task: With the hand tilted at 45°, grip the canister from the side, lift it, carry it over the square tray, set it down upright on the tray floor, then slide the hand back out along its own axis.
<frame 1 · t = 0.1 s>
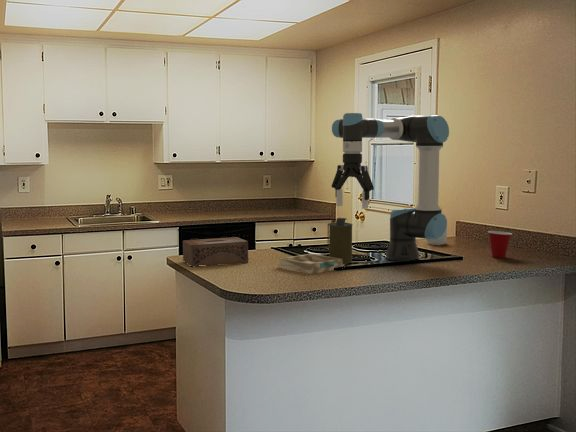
hand: (352, 207, 275), 28 cm above the countertop, tool pointing down, fingers open, 13 cm apart
plastic cup: (499, 257, 325), on the countertop
square tray: (310, 267, 298), on the countertop
canister: (339, 263, 310), on the countertop
tissue box cover: (215, 263, 312), on the countertop
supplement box: (436, 244, 366), on the countertop
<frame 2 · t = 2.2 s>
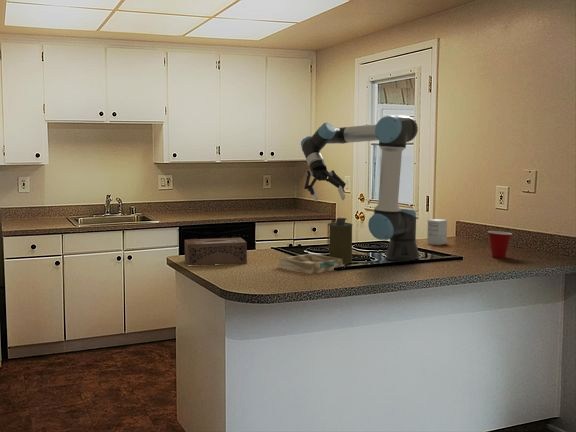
hand: (330, 199, 316), 28 cm above the countertop, tool tilted 45°, fingers open, 13 cm apart
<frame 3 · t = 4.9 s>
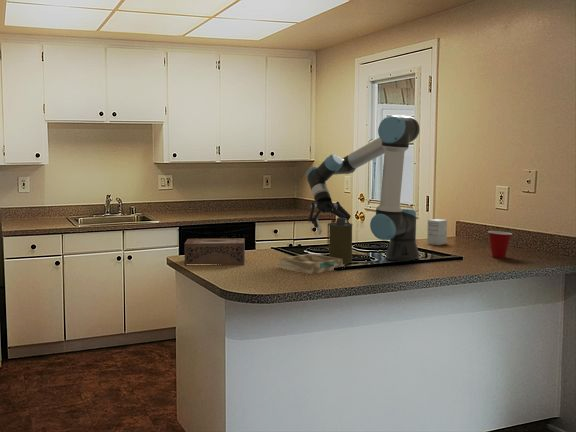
hand: (334, 232, 313), 13 cm above the countertop, tool tilted 45°, fingers open, 13 cm apart
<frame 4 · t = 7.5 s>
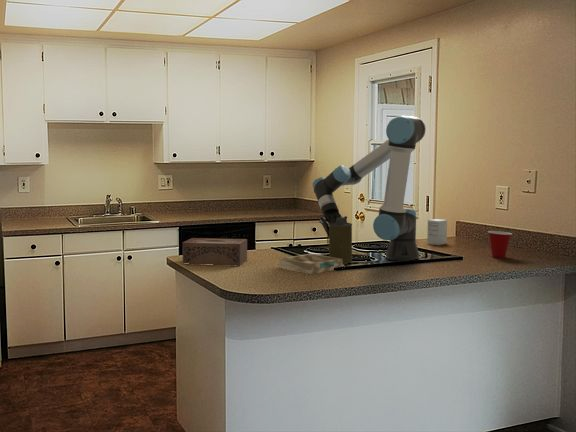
hand: (343, 248, 306), 7 cm above the countertop, tool tilted 45°, fingers closed on canister, 2 cm apart
canister: (339, 263, 310), on the countertop, touching gripper
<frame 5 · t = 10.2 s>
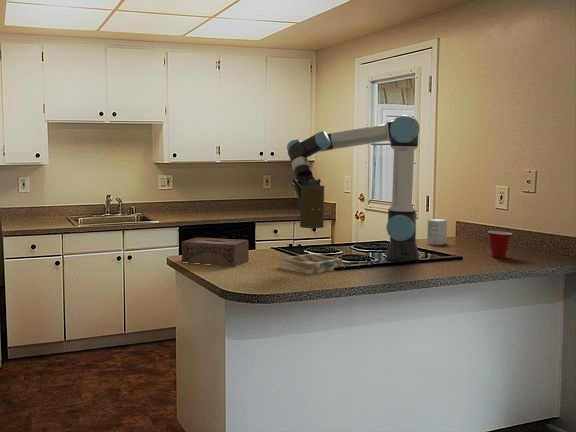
hand: (315, 211, 294), 24 cm above the countertop, tool tilted 45°, fingers closed on canister, 2 cm apart
canister: (311, 227, 298), point 17 cm above the countertop, touching gripper
when the fingers open (9 cm above the countertop, at t = 13.3 s): canister stays where it is, resting on square tray.
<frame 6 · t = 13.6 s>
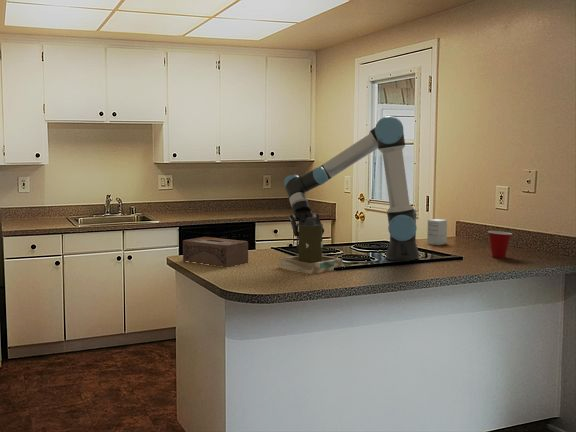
hand: (314, 247, 294), 9 cm above the countertop, tool tilted 45°, fingers open, 6 cm apart
canister: (309, 264, 298), point 1 cm above the countertop, touching square tray
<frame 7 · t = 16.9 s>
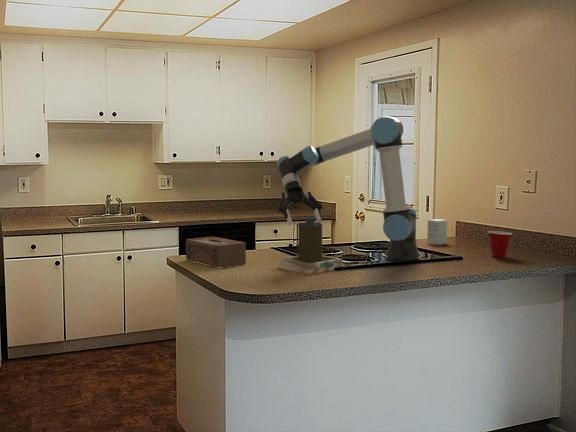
hand: (305, 222, 301), 19 cm above the countertop, tool tilted 45°, fingers open, 13 cm apart
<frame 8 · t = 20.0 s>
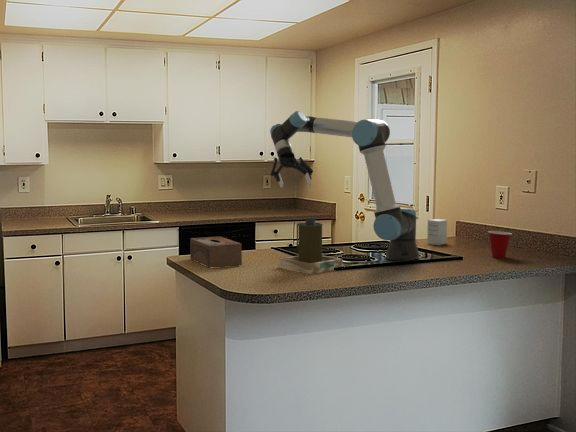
hand: (296, 185, 316), 34 cm above the countertop, tool tilted 45°, fingers open, 13 cm apart
at the end: canister inside the target area on the square tray (0.5 cm from its centre), point 1.3 cm above the square tray's base; canister tilted 0°; the gripper is holding nothing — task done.
